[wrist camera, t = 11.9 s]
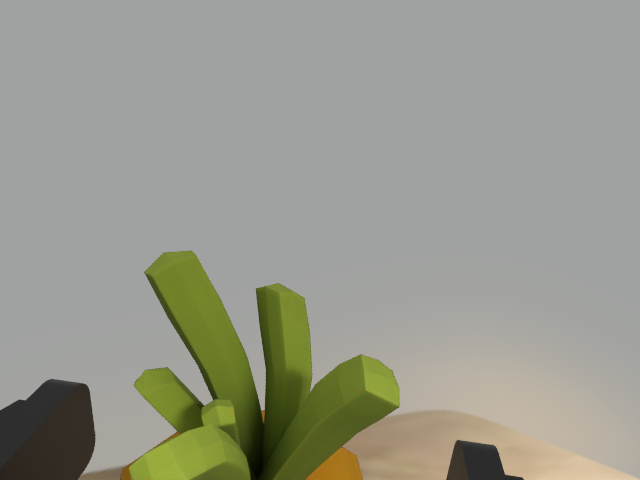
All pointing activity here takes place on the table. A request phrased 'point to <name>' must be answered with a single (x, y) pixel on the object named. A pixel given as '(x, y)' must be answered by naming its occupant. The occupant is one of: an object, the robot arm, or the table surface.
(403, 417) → the table surface
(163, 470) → the carrot
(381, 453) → the table surface
